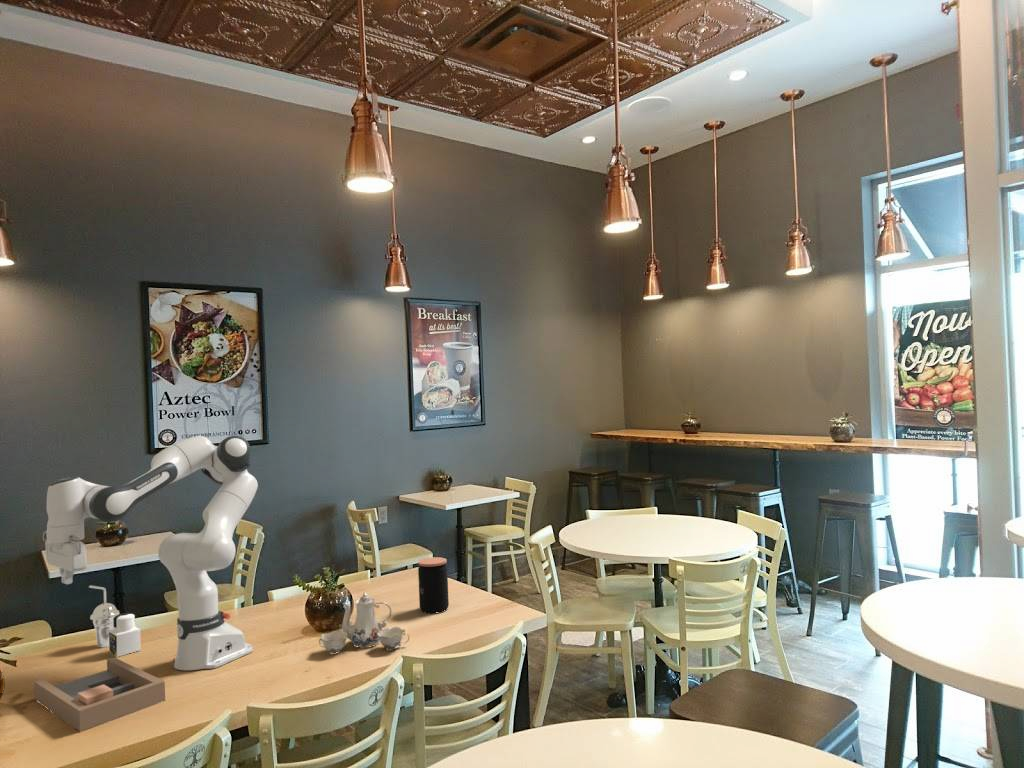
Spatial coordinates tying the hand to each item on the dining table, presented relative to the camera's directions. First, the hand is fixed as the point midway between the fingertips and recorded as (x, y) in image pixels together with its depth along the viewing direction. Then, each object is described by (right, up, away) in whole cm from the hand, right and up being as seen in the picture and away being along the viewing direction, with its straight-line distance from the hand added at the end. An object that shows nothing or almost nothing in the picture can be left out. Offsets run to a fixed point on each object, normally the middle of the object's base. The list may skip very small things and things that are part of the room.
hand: (67, 583), depth 189 cm
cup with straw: (-9, -31, +33) cm, 46 cm away
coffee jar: (+98, -27, +55) cm, 116 cm away
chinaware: (+80, -27, +21) cm, 87 cm away
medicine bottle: (+2, -30, +26) cm, 39 cm away
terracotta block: (+22, -26, -21) cm, 40 cm away
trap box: (+15, -28, -10) cm, 34 cm away
